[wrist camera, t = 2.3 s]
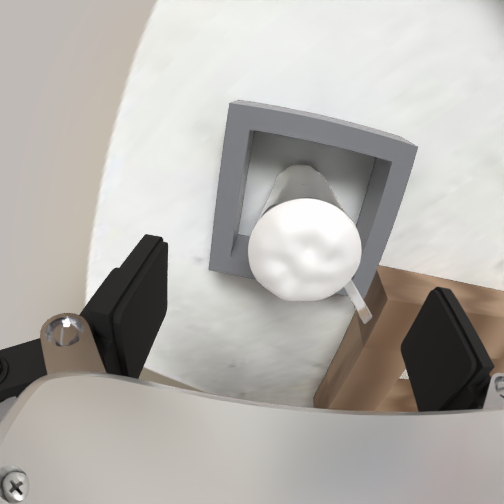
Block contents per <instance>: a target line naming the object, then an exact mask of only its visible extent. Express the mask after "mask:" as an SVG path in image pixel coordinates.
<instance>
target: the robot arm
mask: <svg viewBox="0 0 504 504" xmlns="http://www.w3.org/2000/svg"><path fill="white" fill-rule="evenodd" d="M167 271H168V243H167V242H163V238H162V237H159V236H153V235H148V234H146V235H144V237H143V238H142V239H141V240H140V242H139V243H138V244H137V246H136V247H135V248H134V249H133V251H132V252H131V253H130V255H129V256H128V257H127V259H126V260H125V261H124V262H123V264H122V265H121V266H120V268H114V269H113V270H112V271H111V273H110V274H109V275H108V276H107V278H106V279H105V280H104V282H103V283H102V284H101V286H100V287H99V288H98V290H97V291H96V293H95V294H94V295H93V297H92V298H91V299H90V301H89V302H88V304H87V305H86V306H85V308H84V309H83V311H82V312H81V313H80V315H77V314H73V313H62V314H58V315H55V316H53V317H51V318H50V319H48V320H47V321H46V322H45V323H44V324H43V326H42V329H41V331H40V338H39V339H36V340H32V341H29V342H26V343H22V344H19V345H16V346H12V347H9V348H6V349H2V350H0V504H504V374H503V373H495V374H494V375H493V376H492V377H490V374H489V373H490V372H491V371H492V370H493V368H494V367H495V366H494V364H493V362H492V360H491V358H490V356H489V355H488V353H487V351H486V349H485V347H484V345H483V343H482V341H481V340H480V338H479V336H478V334H477V332H476V330H475V329H474V327H473V325H472V323H471V322H470V320H469V318H468V316H467V315H466V313H465V311H464V310H463V308H462V306H461V305H460V303H459V301H458V300H457V298H456V297H455V295H454V293H453V292H452V290H451V289H449V288H443V287H435V288H434V290H431V291H430V292H429V294H428V296H427V298H426V300H425V302H424V304H423V306H422V307H421V309H420V311H419V313H418V315H417V317H416V319H415V320H414V322H413V324H412V326H411V328H410V329H409V331H408V333H407V335H406V336H405V338H404V340H403V342H402V344H401V354H402V357H403V360H404V363H405V367H406V370H407V373H408V376H409V380H410V383H411V387H412V390H413V393H414V397H415V401H416V404H417V408H418V412H371V411H348V410H331V409H318V408H307V407H297V406H288V405H279V404H271V403H264V402H256V401H249V400H243V399H237V398H231V397H225V396H219V395H214V394H209V393H203V392H197V391H192V390H187V389H182V388H177V387H173V386H168V385H164V384H159V383H155V382H150V381H145V380H140V379H138V378H139V376H140V373H141V371H142V368H143V366H144V364H145V361H146V359H147V357H148V354H149V352H150V349H151V347H152V345H153V342H154V340H155V338H156V336H157V333H158V331H159V329H160V326H161V324H162V322H163V320H164V317H165V315H166V311H167Z"/></svg>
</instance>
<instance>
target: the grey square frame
mask: <svg viewBox="0 0 504 504" xmlns="http://www.w3.org/2000/svg"><path fill="white" fill-rule="evenodd" d="M254 130H256V131H262V132H267V133H273V134H278V135H284V136H289V137H294V138H299V139H303V140H308V141H313V142H317V143H322V144H326V145H330V146H335V147H339V148H343V149H347V150H351V151H355V152H359V153H363V154H366V155H370V156H374V157H376V160H375V164H374V167H373V171H372V175H371V178H370V182H369V185H368V189H367V192H366V195H365V199H364V202H363V206H362V209H361V212H360V215H359V219H358V222H357V225H356V228H357V231H358V233H359V236H360V240H361V251H362V252H361V260H360V264H359V267H358V269H357V271H356V272H355V274H354V275H353V277H352V278H351V280H352V281H353V283H354V285H355V287H356V288H357V290H358V292H359V294H360V295H361V297H362V299H365V296H366V294H367V292H368V289H369V287H370V284H371V282H372V280H373V277H374V275H375V272H376V270H377V267H378V265H379V262H380V260H381V257H382V254H383V252H384V249H385V247H386V244H387V241H388V239H389V236H390V233H391V230H392V228H393V225H394V222H395V219H396V216H397V213H398V210H399V207H400V204H401V201H402V198H403V195H404V192H405V189H406V186H407V183H408V180H409V176H410V173H411V170H412V166H413V163H414V159H415V156H416V152H417V149H418V146H416V145H414V144H412V143H411V142H409V141H407V140H405V139H404V138H402V137H400V136H397V135H393V134H390V133H387V132H384V131H380V130H377V129H373V128H370V127H366V126H363V125H359V124H355V123H351V122H347V121H344V120H340V119H335V118H331V117H327V116H323V115H318V114H314V113H309V112H305V111H300V110H295V109H290V108H285V107H279V106H274V105H268V104H262V103H256V102H249V101H243V100H237V101H234V102H231V103H229V109H228V116H227V123H226V130H225V137H224V145H223V152H222V160H221V167H220V175H219V183H218V191H217V199H216V208H215V216H214V225H213V234H212V243H211V253H210V262H209V270H211V271H216V272H221V273H226V274H232V275H237V276H242V277H247V278H252V279H256V278H255V277H254V275H253V273H252V271H251V268H250V264H249V258H248V245H249V240H250V236H244V235H239V234H238V230H239V224H240V217H241V211H242V204H243V198H244V192H245V185H246V179H247V173H248V167H249V160H250V154H251V148H252V142H253V136H254ZM335 294H339V295H345V296H349V295H348V294H347V292H346V290H345V288H344V287H343V288H342V289H340V290H339V291H338V292H336V293H335Z"/></svg>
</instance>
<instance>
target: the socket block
mask: <svg viewBox="0 0 504 504" xmlns="http://www.w3.org/2000/svg"><path fill="white" fill-rule="evenodd" d="M435 287H443V288H449V289H451V290H452V292H453V293H454V295H455V297H456V298H457V300H458V301H459V303H460V305H461V306H462V308H463V310H464V311H465V313H466V315H467V316H468V318H469V320H470V322H471V323H472V325H473V327H474V329H475V330H476V332H477V334H478V336H479V338H480V340H481V341H482V343H483V345H484V347H485V349H486V351H487V353H488V355H489V356H490V358H491V360H492V362H493V364H494V366H495V367H494V368H493V370H492V371H491V372H490V373H489V374H490V377H492V376H493V375H494V374H495V373H503V374H504V291H500V290H495V289H491V288H486V287H481V286H477V285H472V284H467V283H462V282H458V281H453V280H448V279H443V278H438V277H434V276H429V275H424V274H419V273H414V272H409V271H405V270H400V269H395V268H390V267H385V266H380V265H378V267H377V270H376V272H375V275H374V277H373V280H372V282H371V284H370V287H369V289H368V292H367V294H366V296H365V299H363V301H364V302H365V304H366V306H367V308H368V310H369V311H370V313H371V315H372V318H371V319H370V320H369V321H368V322H367V323H366V324H364V323H363V321H362V320H361V318H360V316H359V314H358V312H357V310H356V311H355V314H354V316H353V318H352V320H351V323H350V325H349V327H348V329H347V331H346V334H345V336H344V338H343V340H342V342H341V344H340V346H339V348H338V351H337V353H336V355H335V357H334V359H333V361H332V363H331V365H330V367H329V369H328V371H327V373H326V375H325V377H324V379H323V381H322V383H321V385H320V386H319V388H318V390H317V392H316V394H315V396H314V408H318V409H331V410H348V411H371V412H418V408H417V404H416V401H415V397H414V393H413V390H412V387H411V383H410V380H409V379H399V377H400V376H401V374H402V373H403V371H404V370H405V368H406V367H405V363H404V360H403V357H402V354H401V344H402V342H403V340H404V338H405V336H406V335H407V333H408V331H409V329H410V328H411V326H412V324H413V322H414V320H415V319H416V317H417V315H418V313H419V311H420V309H421V307H422V306H423V304H424V302H425V300H426V298H427V296H428V294H429V292H430V291H431V290H434V288H435Z"/></svg>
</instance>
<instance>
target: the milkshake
mask: <svg viewBox="0 0 504 504" xmlns="http://www.w3.org/2000/svg"><path fill="white" fill-rule="evenodd" d="M361 252H362V251H361V240H360V236H359V233H358V231H357V228H356V226H355V225H354V223H353V222H352V220H351V219H350V217H349V216H348V214H347V213H346V211H345V210H344V209H343V207H342V206H341V204H340V203H339V201H338V199H337V198H336V196H335V194H334V193H333V191H332V189H331V188H330V186H329V184H328V183H327V181H326V179H325V178H324V176H323V175H322V174H321V173H319V172H318V171H316V170H315V169H314V168H312V167H311V166H310V165H291V166H290V167H288V168H287V169H286V170H284V171H283V172H281V173H280V174H279V175H278V177H277V179H276V182H275V184H274V187H273V189H272V192H271V194H270V196H269V199H268V201H267V203H266V205H265V207H264V209H263V211H262V213H261V215H260V217H259V219H258V221H257V223H256V225H255V227H254V229H253V231H252V233H251V236H250V240H249V245H248V258H249V264H250V268H251V271H252V273H253V275H254V277H255V278H256V280H257V281H258V282H259V283H260V284H261V285H262V286H263V287H265V288H266V289H267V290H269V291H270V292H271V293H273V294H274V295H276V296H277V297H279V298H280V299H282V300H285V301H290V302H298V301H319V300H323V299H325V298H327V297H329V296H331V295H333V294H335V293H336V292H338V291H339V290H340V289H342V288H343V287H344V288H345V290H346V292H347V294H348V295H349V297H350V299H351V301H352V303H353V305H354V306H355V308H356V310H357V312H358V314H359V316H360V318H361V320H362V321H363V323H364V324H366V323H367V322H368V321H369V320H370V319H371V318H372V315H371V313H370V311H369V310H368V308H367V306H366V304H365V302H364V301H363V299H362V297H361V295H360V294H359V292H358V290H357V288H356V287H355V285H354V283H353V281H352V280H351V278H352V277H353V275H354V274H355V272H356V271H357V269H358V267H359V264H360V260H361Z"/></svg>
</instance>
